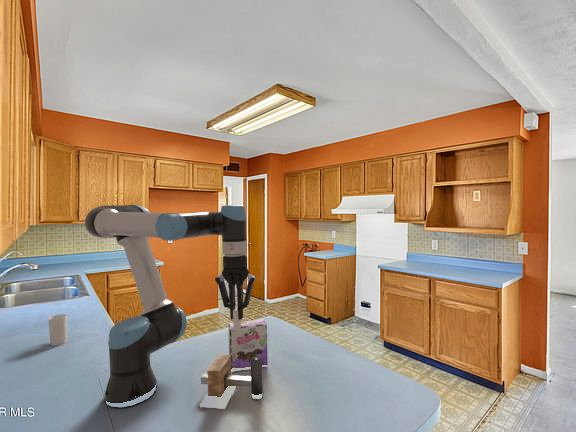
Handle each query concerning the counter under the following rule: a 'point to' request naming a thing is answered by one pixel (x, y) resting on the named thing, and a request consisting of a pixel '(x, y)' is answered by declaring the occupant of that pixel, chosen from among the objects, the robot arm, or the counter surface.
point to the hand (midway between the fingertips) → (237, 329)
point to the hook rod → (245, 377)
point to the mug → (58, 329)
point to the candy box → (248, 343)
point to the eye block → (218, 375)
